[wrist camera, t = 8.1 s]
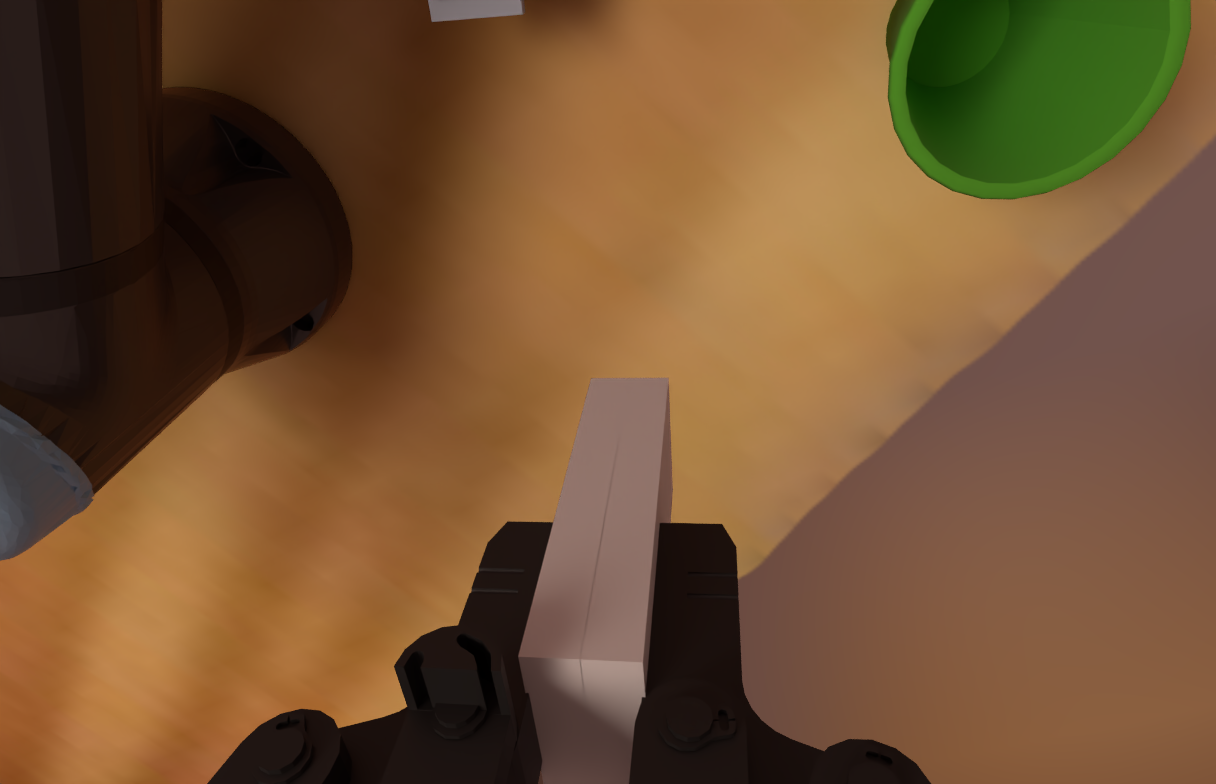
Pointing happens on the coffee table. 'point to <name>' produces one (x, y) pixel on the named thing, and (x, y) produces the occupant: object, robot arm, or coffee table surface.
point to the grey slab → (473, 9)
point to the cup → (1027, 86)
